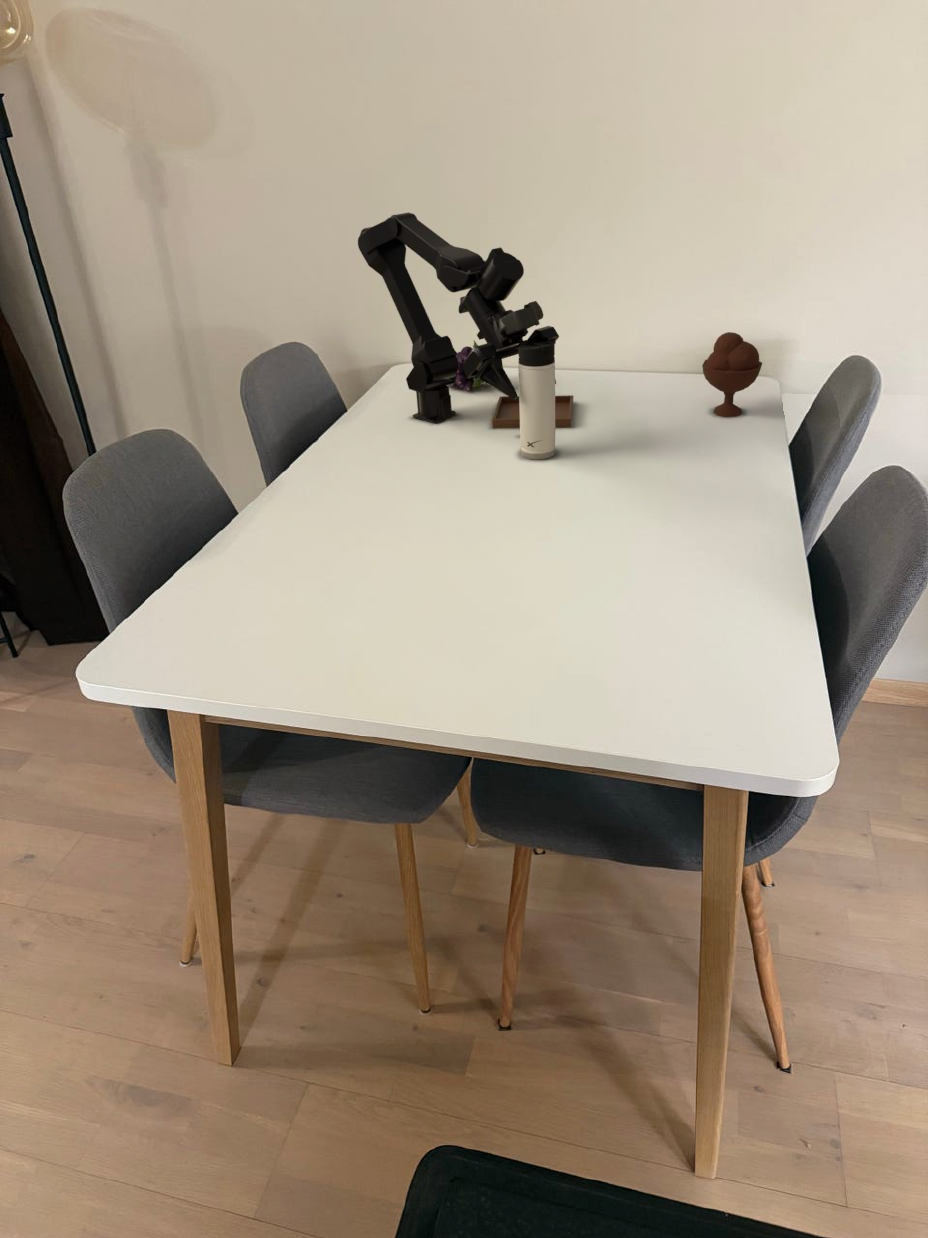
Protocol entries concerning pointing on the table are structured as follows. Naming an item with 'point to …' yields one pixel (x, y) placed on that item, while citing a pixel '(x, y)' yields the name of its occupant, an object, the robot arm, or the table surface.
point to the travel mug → (537, 400)
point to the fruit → (461, 377)
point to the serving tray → (510, 412)
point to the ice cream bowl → (731, 370)
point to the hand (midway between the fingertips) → (535, 391)
